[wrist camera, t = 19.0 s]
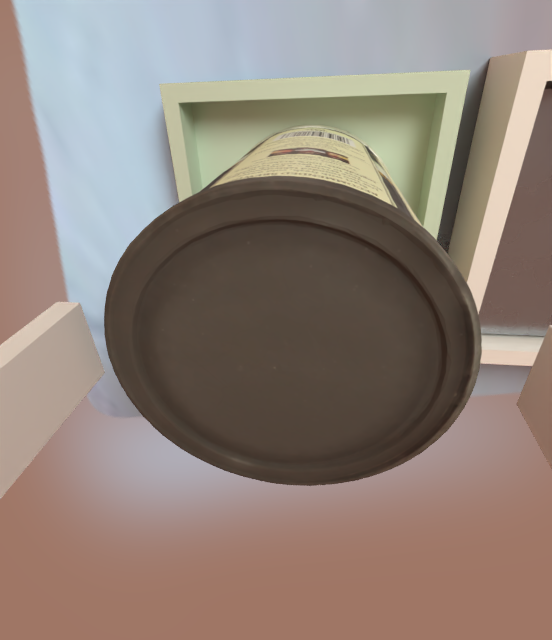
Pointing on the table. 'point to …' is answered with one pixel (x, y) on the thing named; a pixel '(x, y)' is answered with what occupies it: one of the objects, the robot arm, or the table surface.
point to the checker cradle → (498, 183)
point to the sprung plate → (525, 244)
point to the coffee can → (295, 317)
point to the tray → (323, 109)
